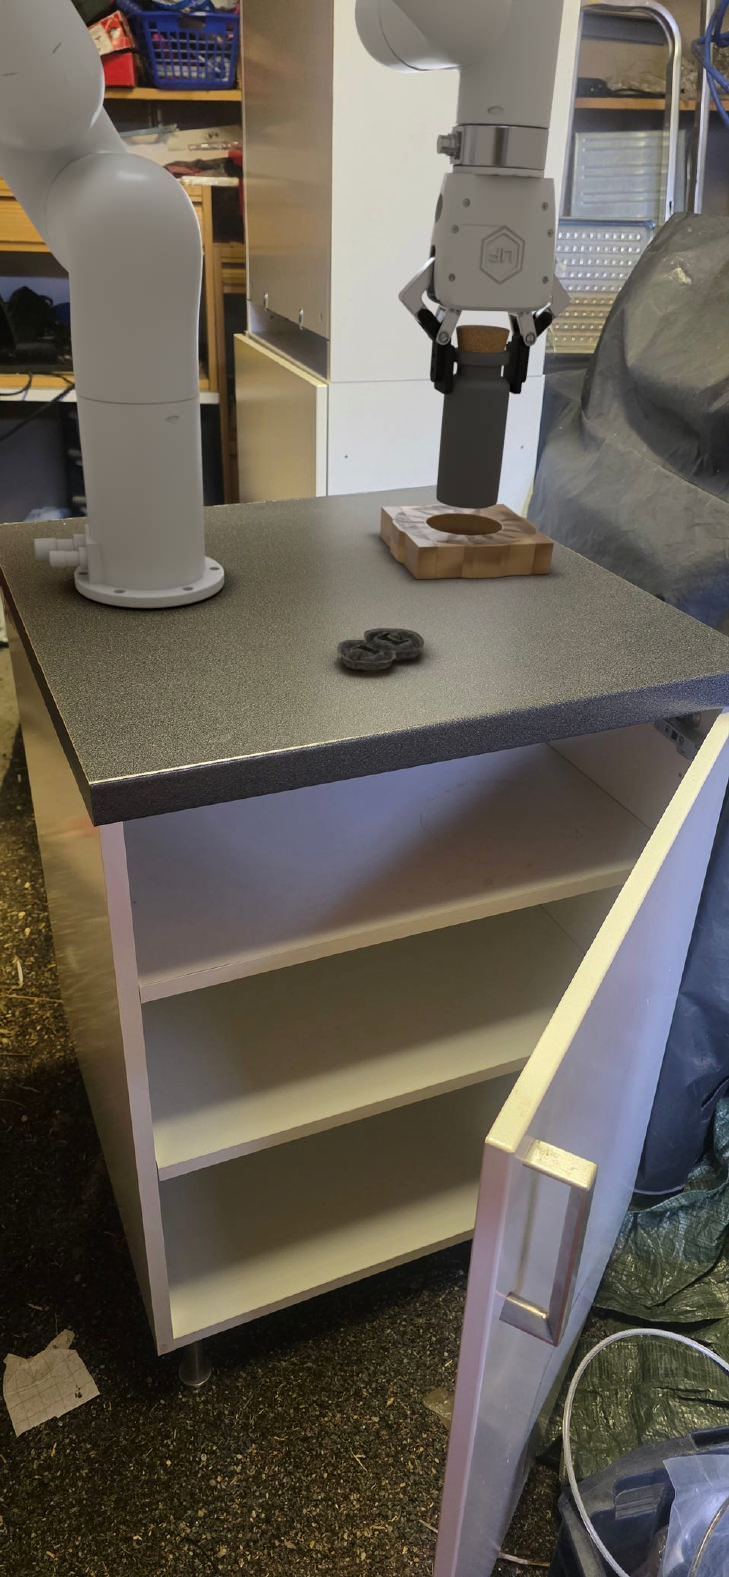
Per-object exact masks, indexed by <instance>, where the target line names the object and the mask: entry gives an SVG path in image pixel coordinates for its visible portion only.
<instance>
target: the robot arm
mask: <svg viewBox="0 0 729 1577" xmlns="http://www.w3.org/2000/svg"><path fill="white" fill-rule="evenodd" d="M354 4H355V5H354V22H355V29H356V32H357V36H358V37H359V40H360V42H361V44H362V46H363V48H364V49H365V51H366V53H367V54H368V55H369V56H370V57H371V58H372V59H373V60H374V61H375V62H376V63H378V64H379V65H380V66H382V67H384V68H386V69H388V70H390V71H393V72H397V73H401V74H417V73H425V72H426V73H427V72H437V71H455V72H456V73H458V80H457V91H456V92H457V93H456V104H455V105H456V106H455V119H454V120H455V121H454V125H455V126H452V127H451V128H452V129H451V132H448V133H447V134H438V136H437V138H436V146H435V148H436V154H437V155H444V156H445V157H446V158H447V157H448V159H449V165H452V166H451V171H450V172H444V173H443V175H442V180H441V183H440V188H439V192H438V194H437V195H438V196H437V199H436V200H437V201H436V206H435V210H434V215H433V220H432V226H431V233H430V240H429V247H428V254H427V255H428V256H427V261H426V262H425V263H424V264H423V266H422V267H421V268H420V269H418V271H417V272H416V273H415V274H414V275H413V277H412V278H411V279H410V280H409V281H408V282H407V283H406V285H404V287H402V289H401V290H400V291H399V293H398V296H397V297H398V300H399V302H400V303H401V305H403V307H405V309H406V310H407V311H408V313H410V314H411V316H412V317H413V318H414V320H415V321H416V322H417V323H418V325H419V326H420V327H421V329H422V330H423V331H424V332H425V334H426V335H427V337H428V339H429V340H431V355H430V367H429V368H430V369H429V379H430V381H431V383H433V389H434V390H436V391H437V392H438V393H440V394H441V395H444V394H449V393H451V392H452V384H453V374H454V371H455V362H454V360H455V348H456V347H455V345H453V344H452V336H453V334H454V332H455V330H456V327H457V325H458V322H459V319H460V317H461V316H462V313H463V311H467V312H469V311H470V312H506V313H507V317H508V321H509V322H508V323H509V326H510V332H511V339H510V340H507V343H506V347H505V350H506V351H508V352H509V353H510V356H509V363H508V364H507V365H504V366H503V367H502V371H503V372H502V377H503V378H505V379H506V380H507V381H508V382H509V384H510V393H511V394H513V395H521V393H522V389H523V388H522V387H523V384H524V383H526V382H527V378H528V370H529V360H530V351H531V347H532V346H534V345H535V344H536V343H537V340H538V338H539V337H540V336H541V335H542V334H543V333H544V332H545V331H546V330H547V329H548V328H549V327H550V326H551V324H552V323H553V322H554V320H555V319H557V318H558V317H559V316H560V315H561V314H562V313H563V312H564V311H565V310H566V309H567V308H568V307H569V306H570V305H571V297H570V295H569V294H568V292H567V291H566V289H565V288H564V286H563V284H562V283H561V281H560V280H559V277H557V275H556V274H555V272H554V270H555V254H556V226H557V224H556V221H557V220H556V190H555V178H553V177H545V173H546V172H545V170H546V162H547V154H548V145H549V135H550V126H551V119H552V110H553V100H554V92H555V83H556V74H557V64H558V56H559V48H560V40H561V29H562V21H563V14H564V4H565V0H355V3H354ZM105 90H106V81H105V71H104V66H103V63H102V59H101V55H100V52H99V49H98V47H97V44H96V43H95V40H94V39H93V37H92V34H91V32H90V30H89V28H88V27H87V25H86V23H85V21H84V20H83V18H82V16H81V15H80V13H79V12H78V10H77V9H76V7H75V5H74V3H73V2H72V0H0V176H1V178H2V179H3V181H4V182H5V184H6V186H7V187H8V189H9V190H10V192H11V194H12V195H13V197H14V198H15V200H16V201H17V203H18V204H19V206H20V207H21V208H22V210H23V212H24V214H25V215H26V217H27V218H28V220H29V221H30V222H31V224H32V226H33V227H34V228H35V230H36V232H37V233H38V235H39V236H40V238H41V239H42V241H43V242H44V244H45V245H46V247H47V249H49V251H50V253H51V254H52V255H53V257H54V258H55V259H56V261H57V262H58V263H59V264H60V265H61V266H62V268H64V270H65V271H66V272H68V282H69V283H68V284H69V285H68V286H69V309H70V310H69V311H70V312H69V313H70V315H69V316H70V337H71V353H72V354H71V355H72V367H73V379H74V380H73V381H74V388H75V390H74V391H75V394H76V408H77V418H78V428H79V438H80V448H81V459H82V471H83V472H82V473H83V481H84V493H85V494H84V495H85V503H86V504H85V505H86V515H87V523H85V524H84V533H73V534H72V537H73V538H58V539H57V538H56V537H50V538H49V537H45V538H44V537H43V538H41V537H40V538H34V539H33V541H34V542H33V543H34V554H35V560H36V562H37V563H43V562H49V567H50V569H62V568H67V567H68V568H69V567H77V568H76V569H75V570H74V575H73V578H74V584H75V588H76V590H77V592H78V593H80V594H81V595H82V596H84V597H85V598H87V599H89V600H92V601H94V602H97V603H101V604H106V605H109V606H115V607H120V608H121V607H122V608H133V609H162V608H163V609H164V608H171V607H178V606H183V605H184V606H185V605H190V604H193V603H197V602H200V601H203V600H205V599H208V598H210V597H212V596H214V595H215V594H217V593H218V592H219V591H220V590H221V589H222V588H223V587H224V584H225V570H224V567H223V566H222V565H221V564H220V563H219V562H218V561H216V560H214V559H213V558H211V557H209V556H207V555H206V541H205V538H206V536H205V511H204V508H205V507H204V483H203V480H204V478H203V456H202V455H203V454H202V452H203V450H202V425H201V397H200V396H201V395H200V370H199V369H200V368H199V367H200V366H199V323H200V322H199V320H200V305H201V294H202V278H203V261H204V260H203V258H204V257H203V256H204V255H203V254H204V253H203V240H202V239H203V238H202V232H201V228H200V227H201V226H200V220H199V218H198V214H197V212H196V209H195V207H194V204H193V202H192V200H191V198H190V196H189V194H188V193H187V191H186V190H185V188H184V187H183V185H182V184H181V182H180V181H179V180H178V179H177V177H175V176H174V175H173V173H171V172H170V171H169V170H167V168H166V167H164V166H162V165H161V164H160V163H159V162H156V161H154V160H152V159H150V158H147V157H146V156H143V155H139V154H136V153H130V152H129V150H128V148H127V147H126V145H125V142H124V141H123V140H122V138H121V136H120V134H119V132H118V130H117V129H116V127H115V125H114V124H113V122H112V120H111V118H110V116H109V115H108V113H107V111H106V109H105V107H104V105H103V104H104V100H105ZM425 292H426V293H425ZM424 293H425V294H426V297H427V298H428V300H430V301H431V302H432V303H435V304H438V306H437V309H436V311H435V313H433V311H431V310H430V309H429V308H428V307H427V306H426V304H425V303H424V301H423V295H424ZM532 312H534V313H532Z"/></svg>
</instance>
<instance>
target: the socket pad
mask: <svg viewBox="0 0 729 1577" xmlns="http://www.w3.org/2000/svg"><path fill="white" fill-rule="evenodd" d="M379 526H380V527H379V528H380V529H379V531H380V532H379V537H380V538H381V540H382V541H383V542H384V543H385V544H386V545H387V547H388V548H389V553H390V554H391V555H392V556H393V558H394V559H395V560H396V561H397V562H398V563H400V564H403V565H404V567H405V568H406V569H407V570H408V571H409V572H410V574H411V575H412V576H413V577H414V579H416V580H432V579H433V580H434V579H454V578H455V579H456V578H457V579H459V578H464V579H488V578H502V577H503V578H504V577H506V576H527V575H528V576H530V575H550V573H551V567H552V566H551V565H552V559H553V553H554V552H553V551H554V544H555V543H554V541H553V540H551V539H550V538H548V537H547V536H546V535H545V534H543V533H542V532H541V531H539V530H538V529H537V526H536V525H535V524H534V523H532V521H530V520H529V519H528V518H526V517H523V516H521V515H519V514H517V512H515V511H513V510H512V509H511V508H509V507H508V506H507V505H505V504H504V503H496V505H494V506H491V507H487V508H478V509H469V508H459V507H453V506H449V505H445V504H443V503H441V504H427V505H426V504H425V505H400V506H396V505H395V506H381V508H380V525H379Z"/></svg>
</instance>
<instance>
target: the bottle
mask: <svg viewBox="0 0 729 1577" xmlns="http://www.w3.org/2000/svg"><path fill="white" fill-rule="evenodd" d="M510 333H511V329H509V328H507V327H502V326H496V325H486V324H461V325H456V327H455V334H456V342H457V346H456V347H455V360H454V364H456V371H455V373H453V384H452V392H451V393H449V394H443V401H442V402H443V403H442V417H441V428H440V440H439V450H438V451H439V452H438V467H437V479H436V490H435V493H436V494H435V497H436V498H435V499H436V500H437V501H438V502H439V503H440V504H445V505H449V506H453V507H459V508H469V509H478V508H487V507H491V506H494V505H496V504H498V501H499V500H498V498H499V491H500V484H501V476H502V468H503V467H502V466H503V460H504V459H503V458H504V450H505V448H504V447H505V439H506V432H507V431H506V429H507V422H508V412H509V402H510V393H511V392H510V384H509V382H508V381H507V380H506V379H505V378H503V375H502V371H503V367H504V365H507V364H508V363H509V356H510V353H509V352H508V351H506V350H505V349H506V344H507V343H508V341H509V337H510Z"/></svg>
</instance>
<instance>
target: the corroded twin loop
mask: <svg viewBox="0 0 729 1577" xmlns="http://www.w3.org/2000/svg"><path fill="white" fill-rule="evenodd" d="M424 645H425V641H424V638H423V637H422V636H421V635H420V633H418V632H417V631H413V630H411V629H406V628H398V627H397V628H394V627H393V628H390V627H389V628H388V627H379V628H372V629H367V630H365V631H364V633H363V639H345V640H342V641H340V642H338V644H337V647H336V652H337V653H338V654H339V655H340V656H341V661H342V663H343V664H344V665H345V666H346V667H347V668H350V669H351V670H385V669H387V668H390V667H391V665H392V661H393V660H406V659H414V658H416V657H418V655H419V654H420V652H421V650H422V649H423V648H424Z"/></svg>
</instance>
